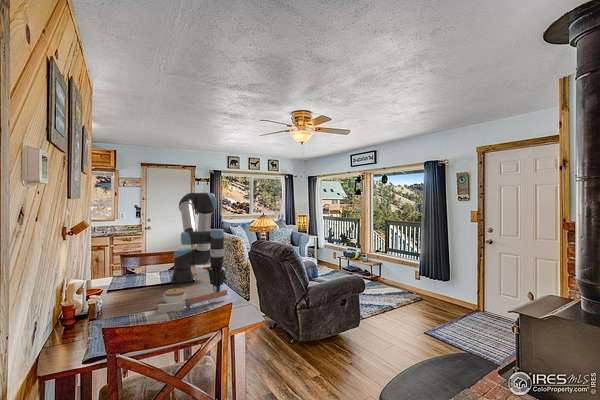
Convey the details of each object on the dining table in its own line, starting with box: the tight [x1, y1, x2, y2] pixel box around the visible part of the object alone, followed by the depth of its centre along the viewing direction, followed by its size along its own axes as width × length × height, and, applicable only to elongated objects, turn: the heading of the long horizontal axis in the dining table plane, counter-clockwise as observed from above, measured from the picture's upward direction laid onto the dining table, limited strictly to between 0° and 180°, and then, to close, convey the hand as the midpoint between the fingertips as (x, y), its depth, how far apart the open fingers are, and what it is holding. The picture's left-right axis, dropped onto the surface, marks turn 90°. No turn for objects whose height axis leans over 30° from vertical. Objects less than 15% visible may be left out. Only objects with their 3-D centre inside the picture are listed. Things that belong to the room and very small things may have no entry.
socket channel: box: [157, 291, 191, 314], centre depth 166 cm, size 20×16×4 cm
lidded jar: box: [163, 287, 186, 304], centre depth 166 cm, size 11×11×9 cm
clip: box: [184, 289, 228, 307], centre depth 168 cm, size 25×3×3 cm, turn 137°
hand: (216, 296), depth 174 cm, fingers closed
